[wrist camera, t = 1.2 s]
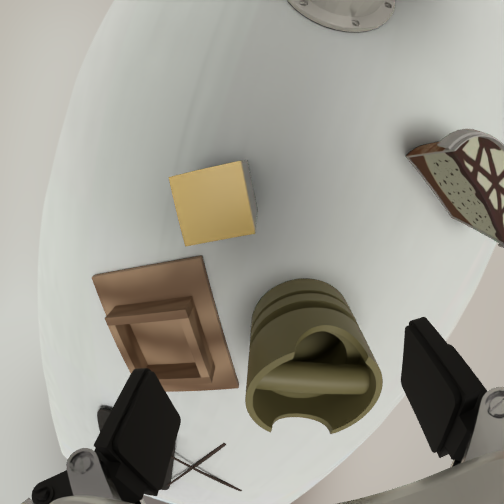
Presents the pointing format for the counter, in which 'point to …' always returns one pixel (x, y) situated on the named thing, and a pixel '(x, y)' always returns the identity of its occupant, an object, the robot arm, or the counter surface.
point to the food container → (466, 178)
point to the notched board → (168, 324)
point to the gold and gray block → (215, 203)
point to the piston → (309, 358)
